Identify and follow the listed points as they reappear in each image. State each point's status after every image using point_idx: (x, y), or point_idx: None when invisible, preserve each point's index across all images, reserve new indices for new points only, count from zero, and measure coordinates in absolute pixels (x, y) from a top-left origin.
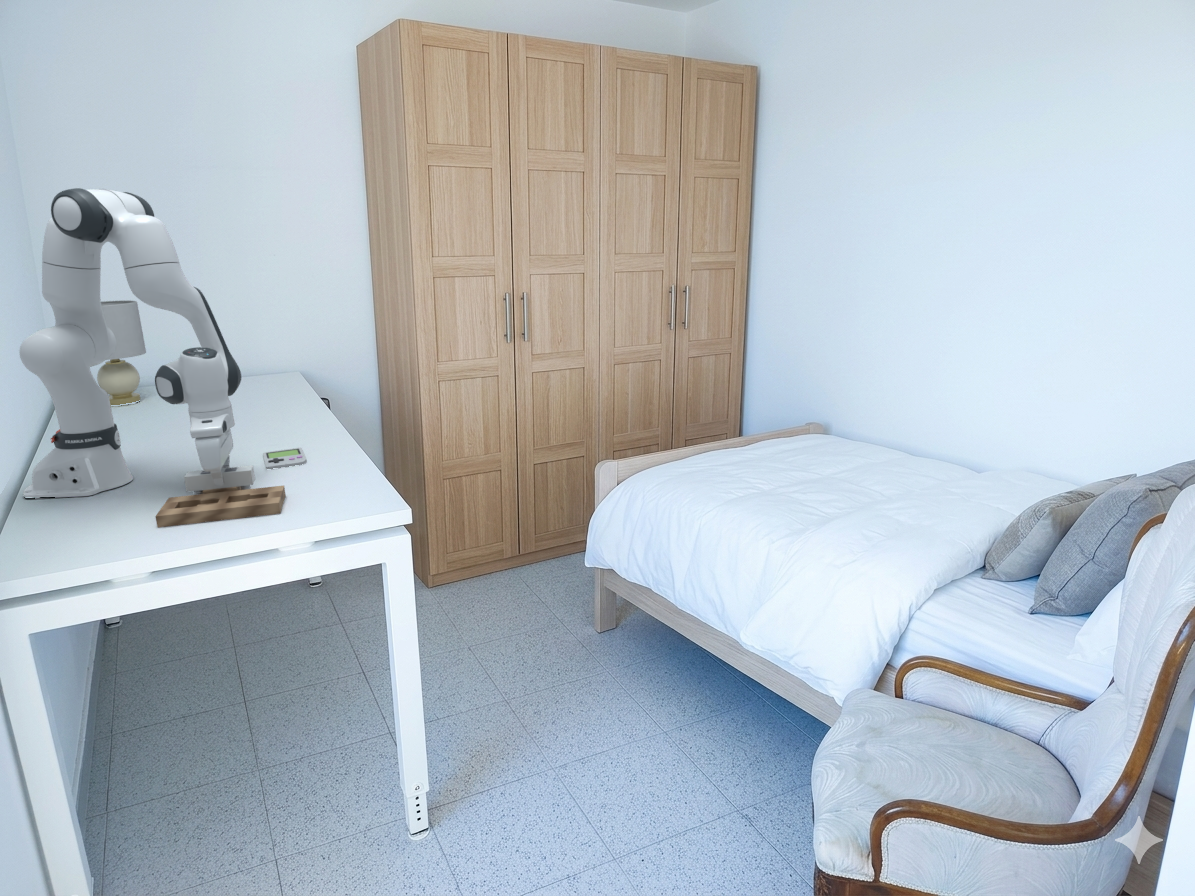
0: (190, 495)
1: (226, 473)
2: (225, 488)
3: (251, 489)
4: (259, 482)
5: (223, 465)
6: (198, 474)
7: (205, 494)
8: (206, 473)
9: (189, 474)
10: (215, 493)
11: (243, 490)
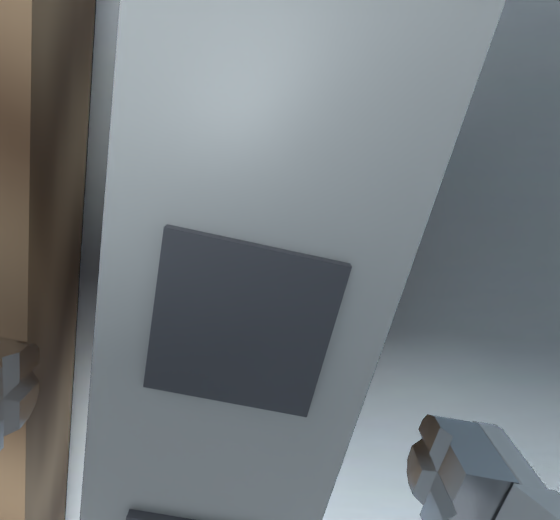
0: (25, 40)
1: (83, 513)
2: None
3: (9, 515)
4: (413, 505)
5: (498, 509)
6: (181, 190)
7: (4, 196)
8: (154, 312)
9: (276, 23)
10: (3, 283)
11: (2, 473)
